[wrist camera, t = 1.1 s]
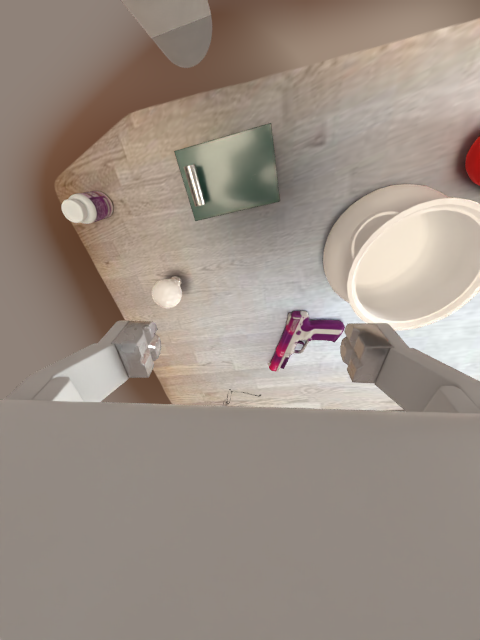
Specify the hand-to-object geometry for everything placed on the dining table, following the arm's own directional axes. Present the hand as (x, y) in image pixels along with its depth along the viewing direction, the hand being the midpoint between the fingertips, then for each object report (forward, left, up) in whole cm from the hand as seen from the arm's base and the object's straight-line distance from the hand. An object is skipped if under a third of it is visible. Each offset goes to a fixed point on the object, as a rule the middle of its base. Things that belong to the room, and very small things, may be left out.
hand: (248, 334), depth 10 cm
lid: (-6, -3, -37) cm, 38 cm away
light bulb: (+13, -23, -47) cm, 54 cm away
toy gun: (+42, +13, -44) cm, 63 cm away
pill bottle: (-7, -33, -47) cm, 57 cm away
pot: (+14, +25, -46) cm, 54 cm away
